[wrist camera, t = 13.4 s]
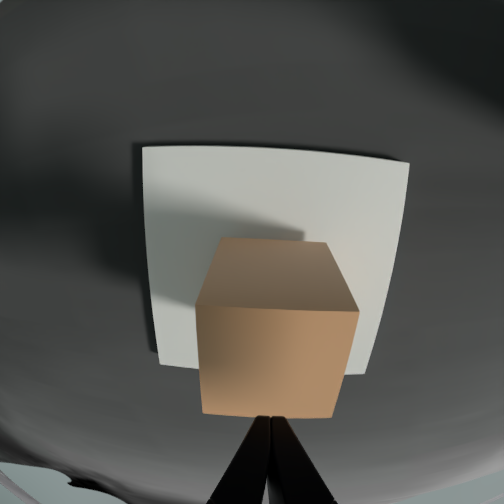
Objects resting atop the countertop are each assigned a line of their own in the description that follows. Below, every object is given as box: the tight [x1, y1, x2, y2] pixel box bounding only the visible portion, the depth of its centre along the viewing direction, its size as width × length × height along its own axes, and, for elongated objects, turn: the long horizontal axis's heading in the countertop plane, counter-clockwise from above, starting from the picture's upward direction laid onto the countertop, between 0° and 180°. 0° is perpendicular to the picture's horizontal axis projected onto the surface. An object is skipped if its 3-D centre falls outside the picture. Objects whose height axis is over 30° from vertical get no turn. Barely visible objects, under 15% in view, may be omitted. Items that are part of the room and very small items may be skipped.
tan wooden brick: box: [195, 237, 360, 418], centre depth 14 cm, size 5×5×7 cm
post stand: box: [142, 145, 409, 374], centre depth 15 cm, size 14×14×8 cm
